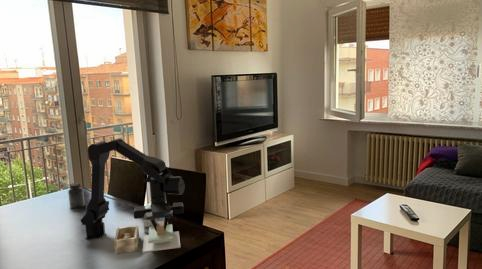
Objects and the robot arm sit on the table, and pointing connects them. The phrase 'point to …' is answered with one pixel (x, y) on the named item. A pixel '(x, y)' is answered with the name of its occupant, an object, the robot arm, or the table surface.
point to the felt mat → (161, 246)
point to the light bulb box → (147, 222)
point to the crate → (126, 239)
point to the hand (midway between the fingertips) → (160, 230)
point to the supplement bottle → (76, 196)
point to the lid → (160, 233)
